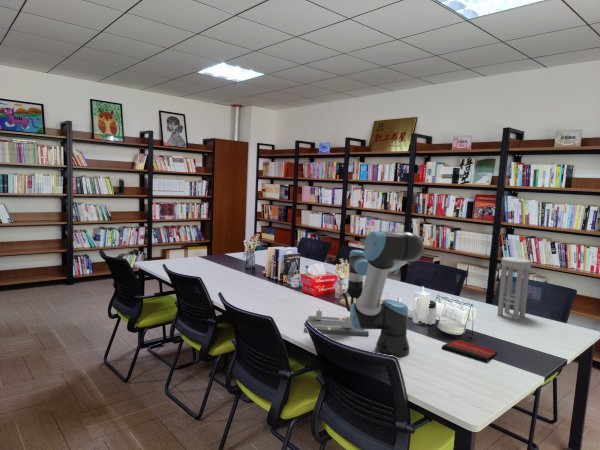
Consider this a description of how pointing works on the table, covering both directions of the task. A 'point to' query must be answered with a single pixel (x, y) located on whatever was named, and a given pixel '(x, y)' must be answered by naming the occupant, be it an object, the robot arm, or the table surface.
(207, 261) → the table surface
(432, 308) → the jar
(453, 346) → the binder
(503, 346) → the table surface
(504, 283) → the stool
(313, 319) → the console
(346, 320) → the fader
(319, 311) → the fader
